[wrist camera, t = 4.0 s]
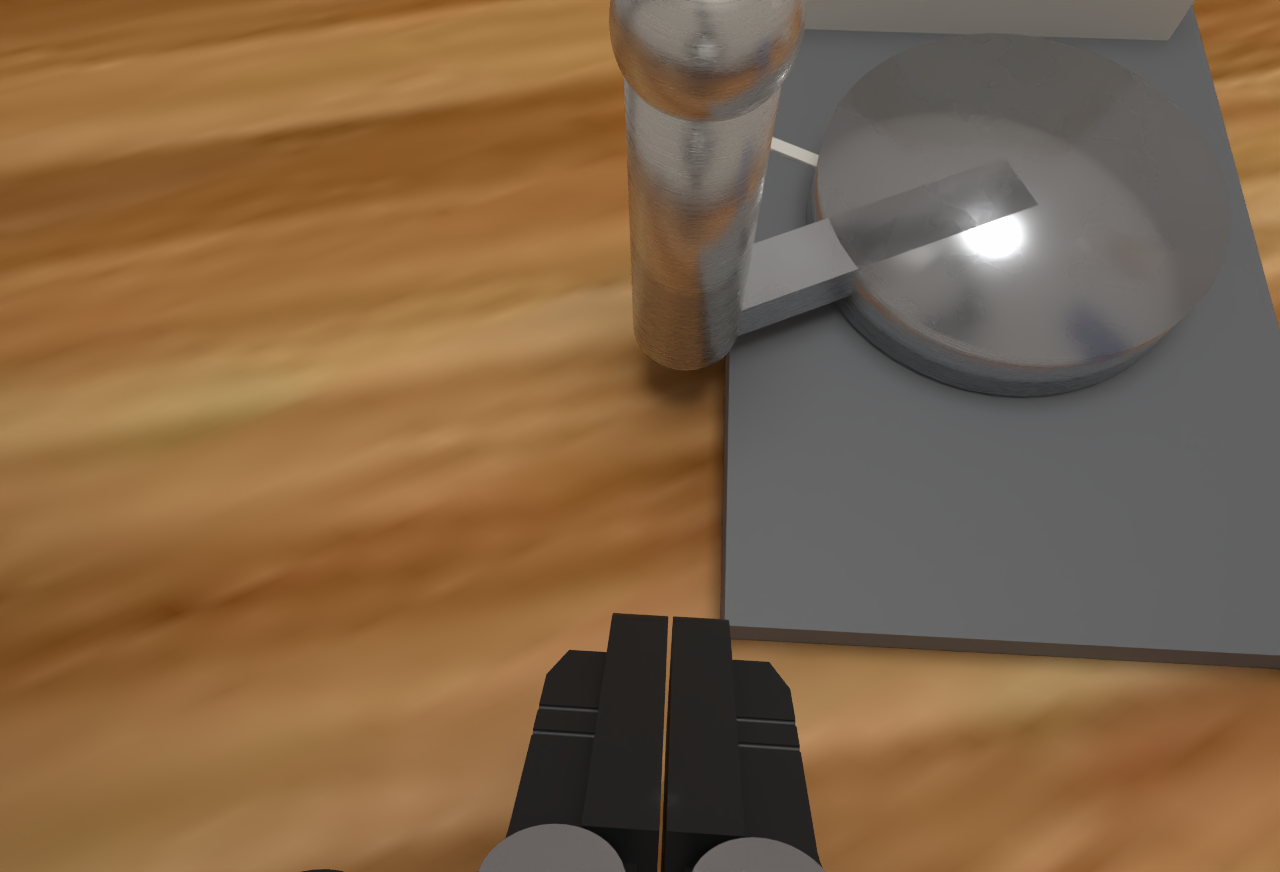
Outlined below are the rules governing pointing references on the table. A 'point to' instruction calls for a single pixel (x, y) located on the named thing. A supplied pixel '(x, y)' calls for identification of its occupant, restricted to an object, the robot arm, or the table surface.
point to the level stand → (1006, 423)
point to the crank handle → (914, 200)
